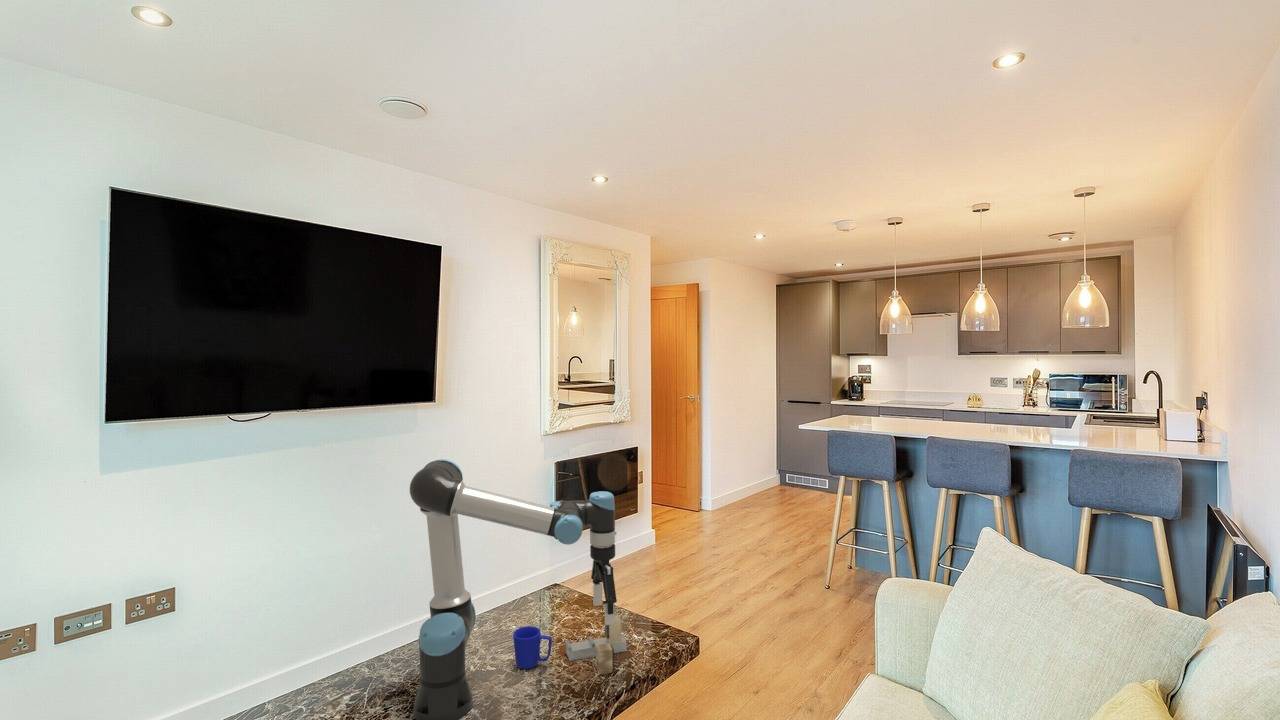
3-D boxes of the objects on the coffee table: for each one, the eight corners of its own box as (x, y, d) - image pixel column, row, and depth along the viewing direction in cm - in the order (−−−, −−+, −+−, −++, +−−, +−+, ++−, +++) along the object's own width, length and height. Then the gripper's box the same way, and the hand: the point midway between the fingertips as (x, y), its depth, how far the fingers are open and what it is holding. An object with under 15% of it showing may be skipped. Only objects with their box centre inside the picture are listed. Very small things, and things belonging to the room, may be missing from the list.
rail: (568, 661, 181) (568, 629, 181) (565, 653, 186) (565, 622, 186) (626, 651, 187) (626, 620, 187) (622, 643, 192) (621, 613, 192)
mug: (546, 674, 174) (546, 641, 174) (509, 670, 177) (508, 637, 176) (556, 660, 182) (555, 628, 182) (520, 656, 185) (519, 625, 185)
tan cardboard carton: (599, 674, 174) (599, 651, 173) (596, 668, 177) (596, 645, 177) (614, 672, 175) (614, 648, 175) (610, 665, 179) (610, 642, 179)
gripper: (626, 556, 165) (627, 630, 166) (603, 530, 189) (604, 596, 189) (601, 559, 163) (602, 634, 163) (581, 533, 187) (582, 599, 187)
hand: (603, 614), depth 176 cm, fingers open, 13 cm apart
